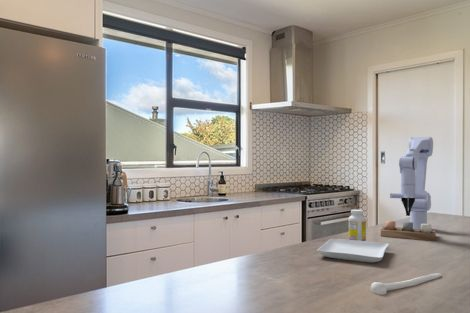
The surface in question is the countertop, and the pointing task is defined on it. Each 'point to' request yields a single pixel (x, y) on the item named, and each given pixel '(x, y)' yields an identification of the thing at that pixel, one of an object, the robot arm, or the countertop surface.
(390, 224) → the peach rounded cylinder
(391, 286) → the white long rod
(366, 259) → the salad plate
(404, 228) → the grey rounded piece
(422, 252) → the countertop surface
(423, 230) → the white rounded cylinder
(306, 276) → the countertop surface
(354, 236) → the supplement bottle
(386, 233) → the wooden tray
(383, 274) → the countertop surface
